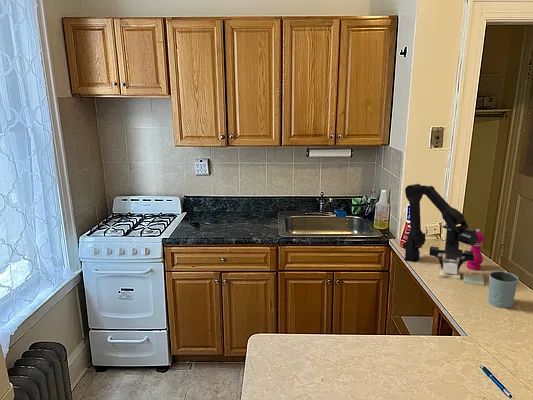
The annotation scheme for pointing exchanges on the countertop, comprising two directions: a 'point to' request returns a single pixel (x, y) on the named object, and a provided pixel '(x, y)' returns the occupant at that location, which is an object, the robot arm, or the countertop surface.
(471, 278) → the pad
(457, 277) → the post base
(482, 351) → the countertop surface
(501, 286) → the teal plant pot
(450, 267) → the white cabinet cube
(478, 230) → the pepper mill
